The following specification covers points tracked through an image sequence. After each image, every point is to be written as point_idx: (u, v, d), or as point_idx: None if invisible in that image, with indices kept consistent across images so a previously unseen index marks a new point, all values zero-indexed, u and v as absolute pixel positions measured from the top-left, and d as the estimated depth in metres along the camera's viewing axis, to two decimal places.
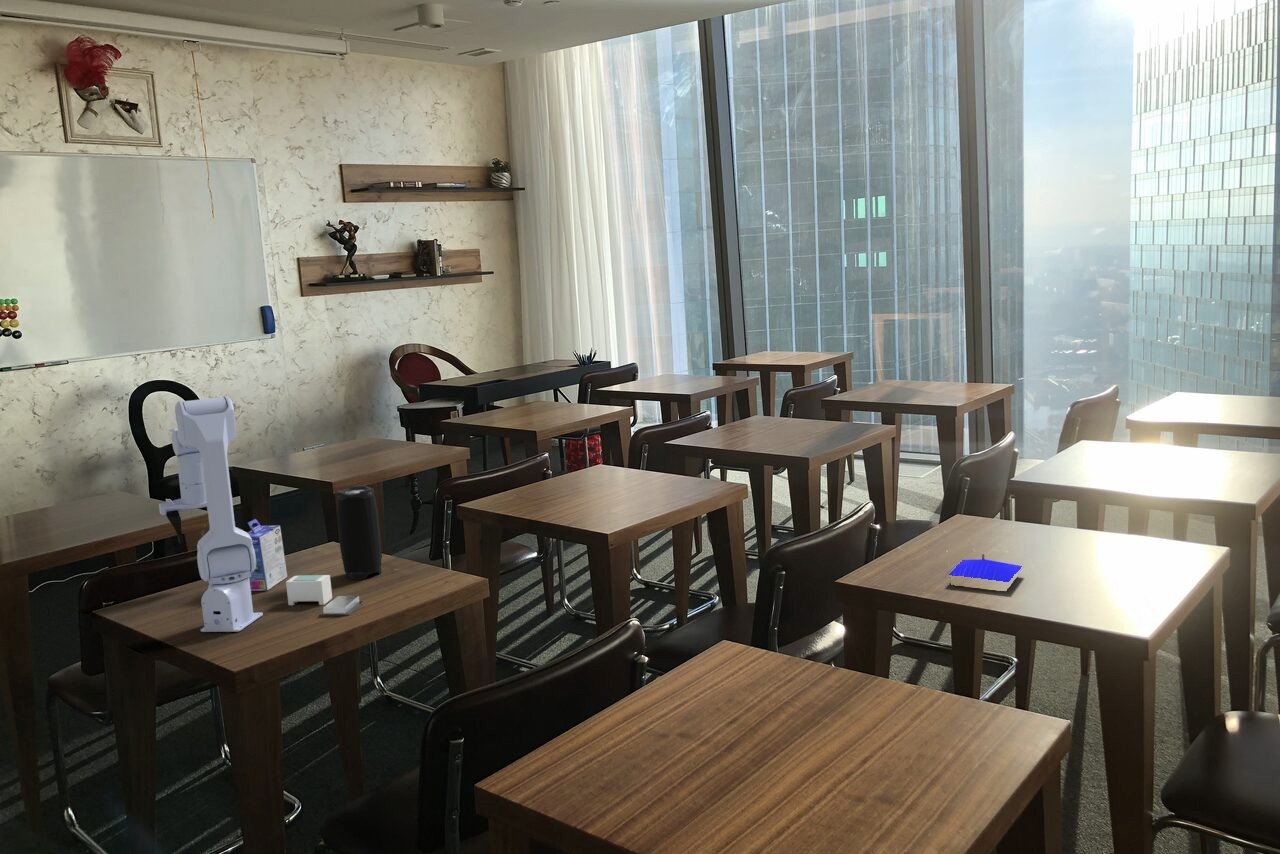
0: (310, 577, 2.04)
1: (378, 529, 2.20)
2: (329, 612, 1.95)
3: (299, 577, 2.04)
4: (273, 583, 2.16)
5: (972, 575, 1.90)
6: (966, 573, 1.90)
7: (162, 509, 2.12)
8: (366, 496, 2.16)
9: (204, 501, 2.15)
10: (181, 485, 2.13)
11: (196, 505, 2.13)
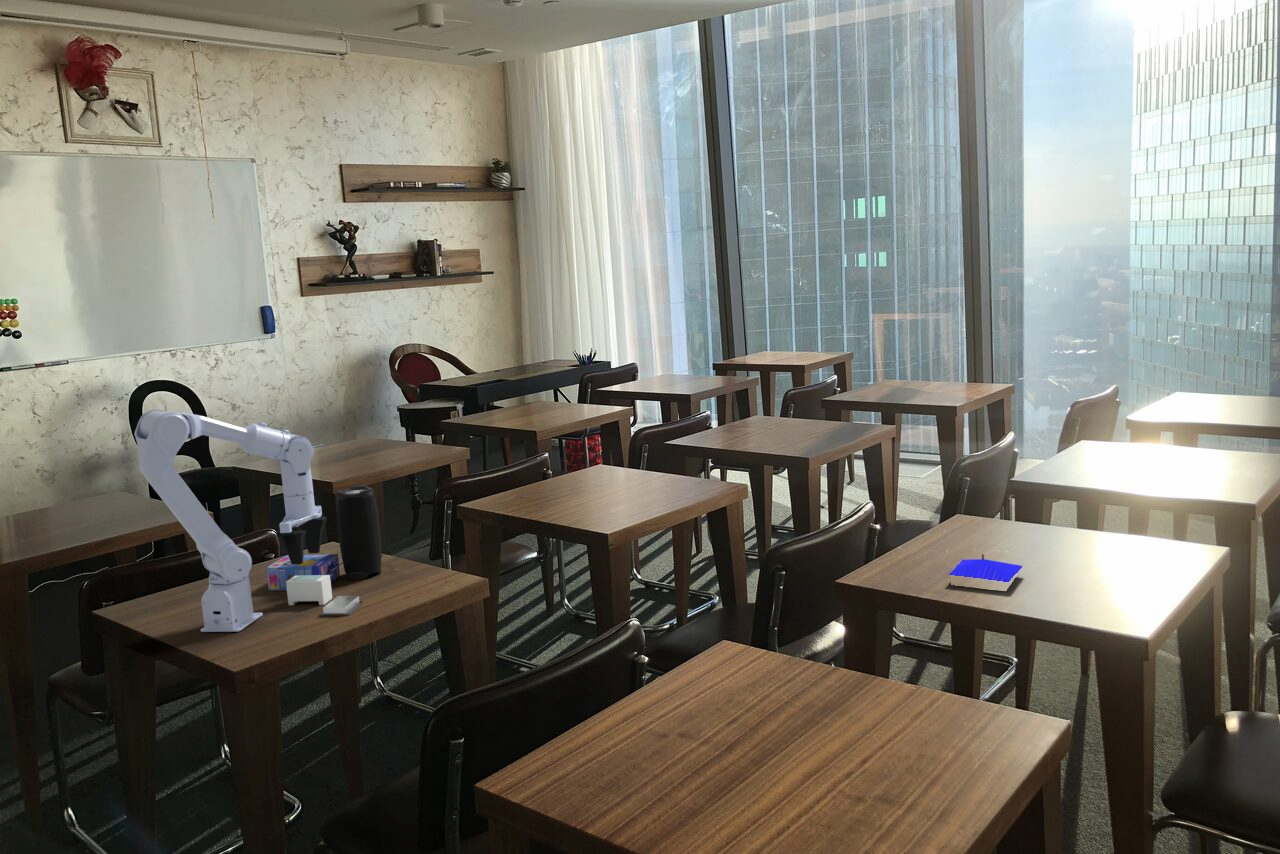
0: (310, 577, 2.04)
1: (378, 529, 2.20)
2: (329, 612, 1.95)
3: (299, 577, 2.04)
4: None
5: (972, 575, 1.90)
6: (966, 573, 1.91)
7: None
8: (366, 496, 2.16)
9: None
10: None
11: None
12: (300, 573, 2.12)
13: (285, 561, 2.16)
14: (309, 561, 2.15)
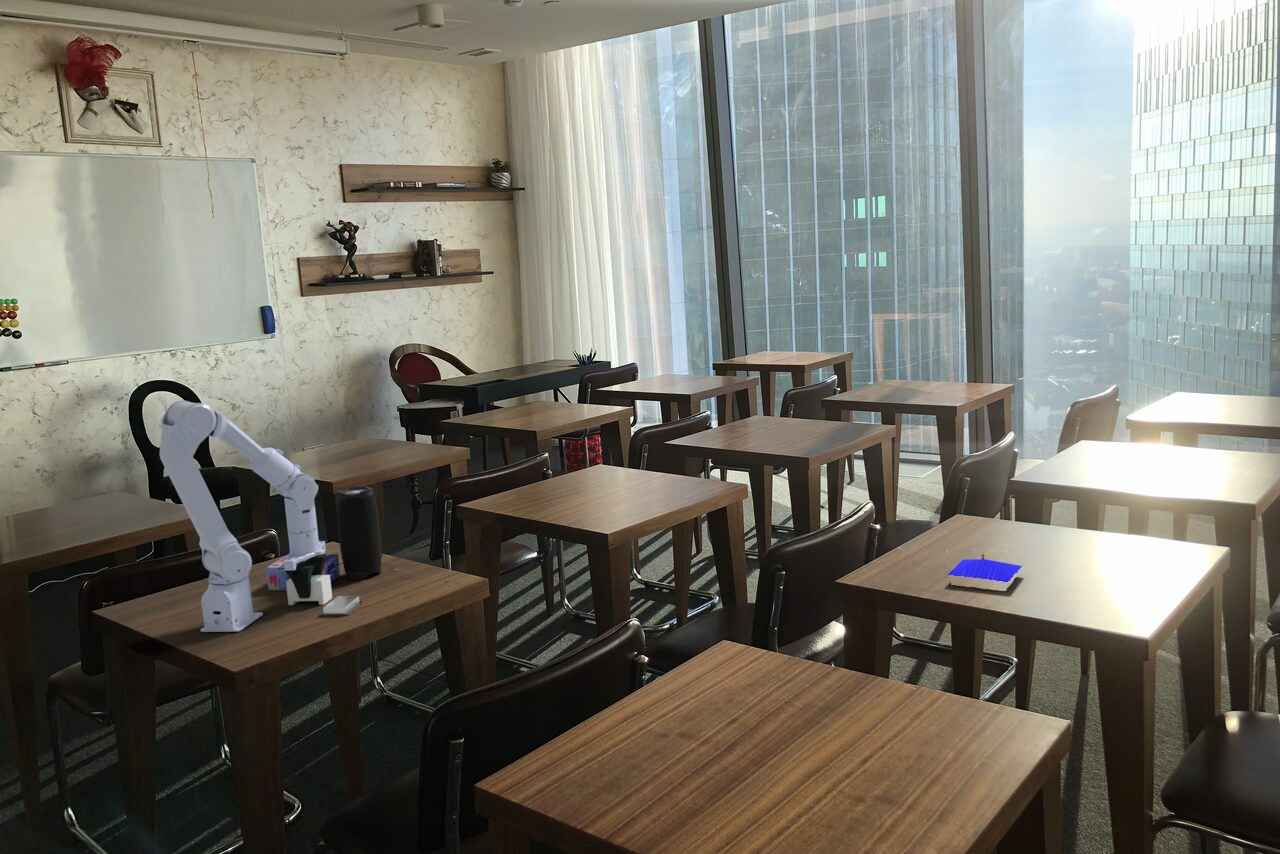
0: None
1: (378, 529, 2.20)
2: (329, 612, 1.95)
3: None
4: None
5: (972, 575, 1.90)
6: (966, 573, 1.91)
7: None
8: (366, 496, 2.16)
9: (290, 551, 2.02)
10: None
11: None
12: None
13: None
14: None
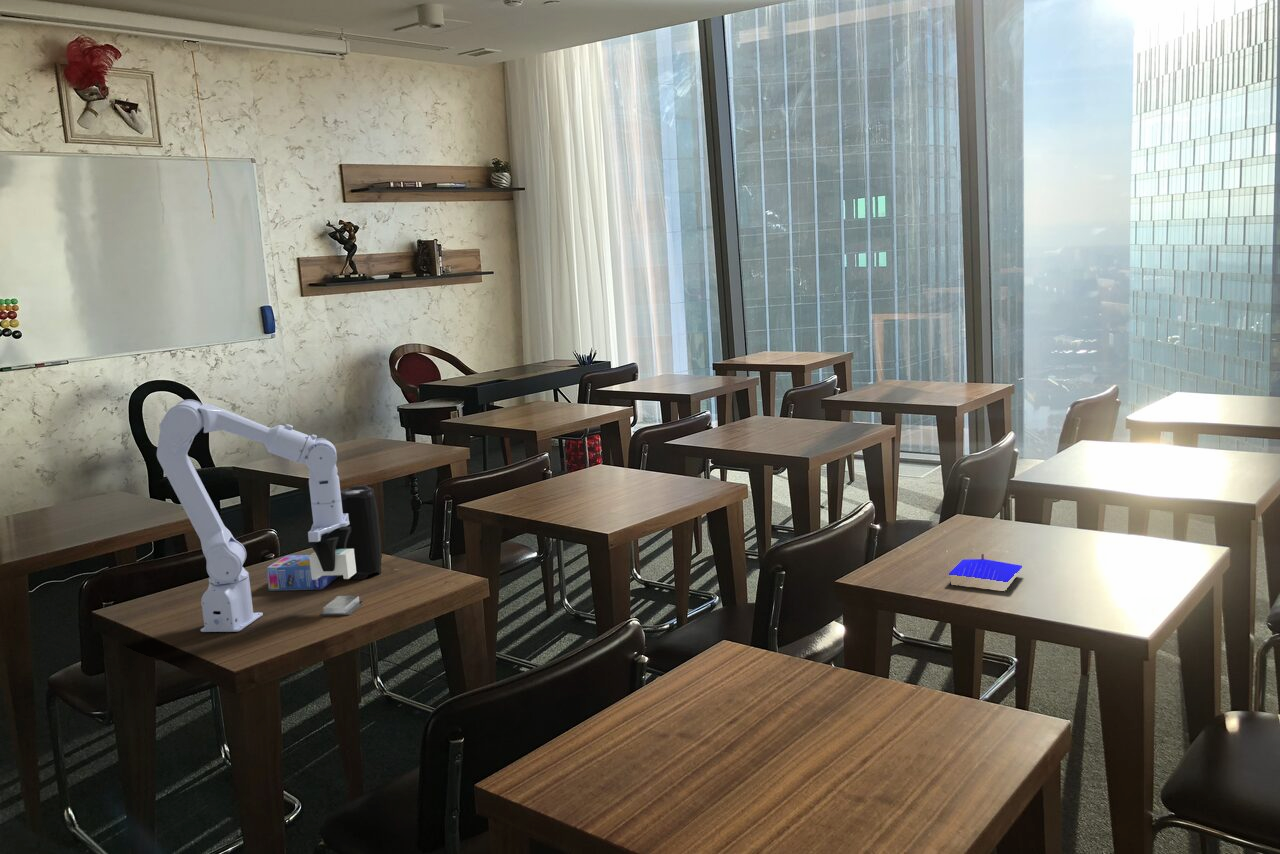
0: None
1: (378, 529, 2.20)
2: (329, 612, 1.95)
3: None
4: None
5: (971, 575, 1.90)
6: (965, 573, 1.91)
7: None
8: (366, 496, 2.16)
9: None
10: None
11: None
12: (300, 573, 2.12)
13: (285, 561, 2.16)
14: (309, 561, 2.15)
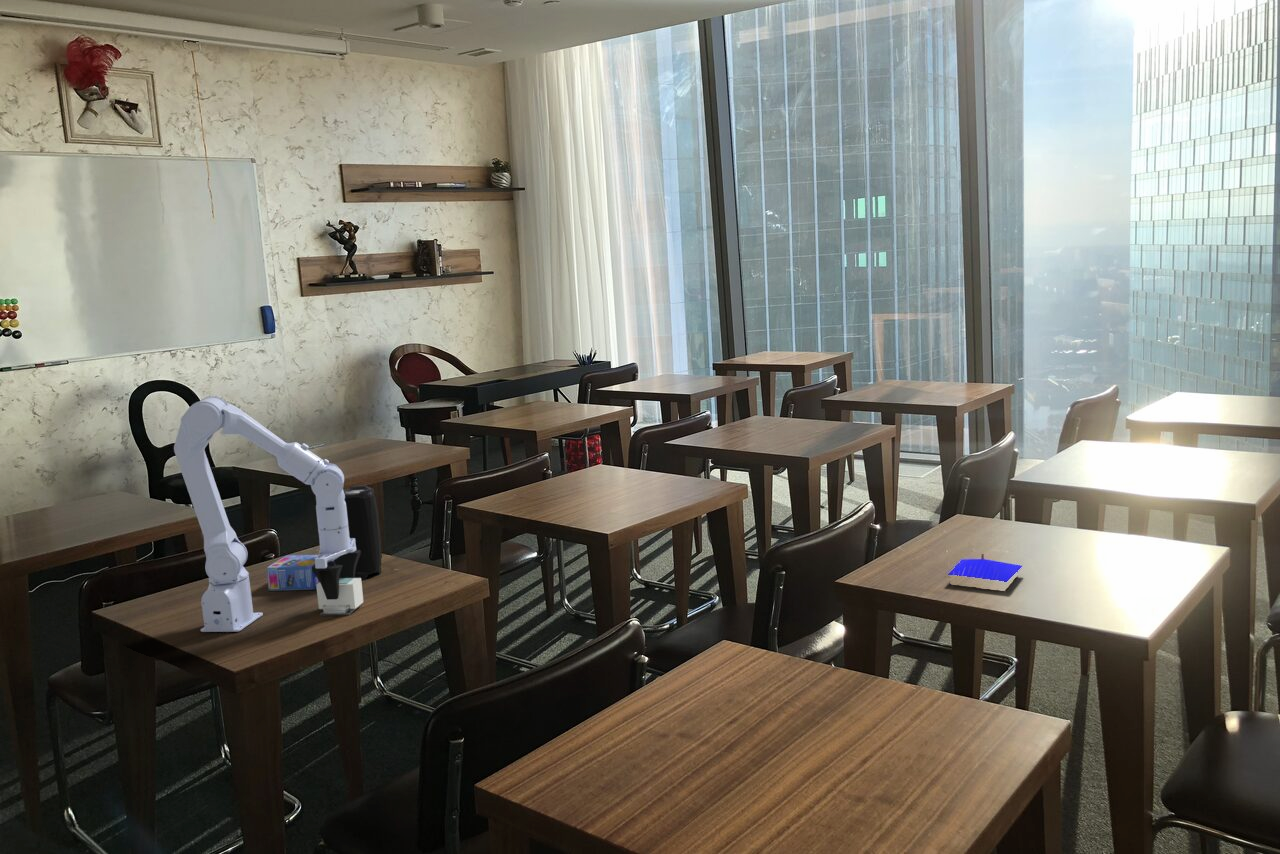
0: (341, 580, 1.97)
1: (378, 529, 2.20)
2: (329, 612, 1.95)
3: None
4: None
5: (971, 575, 1.90)
6: (965, 573, 1.91)
7: None
8: (366, 496, 2.16)
9: (320, 549, 1.95)
10: None
11: None
12: (300, 573, 2.12)
13: (285, 561, 2.16)
14: (309, 561, 2.15)
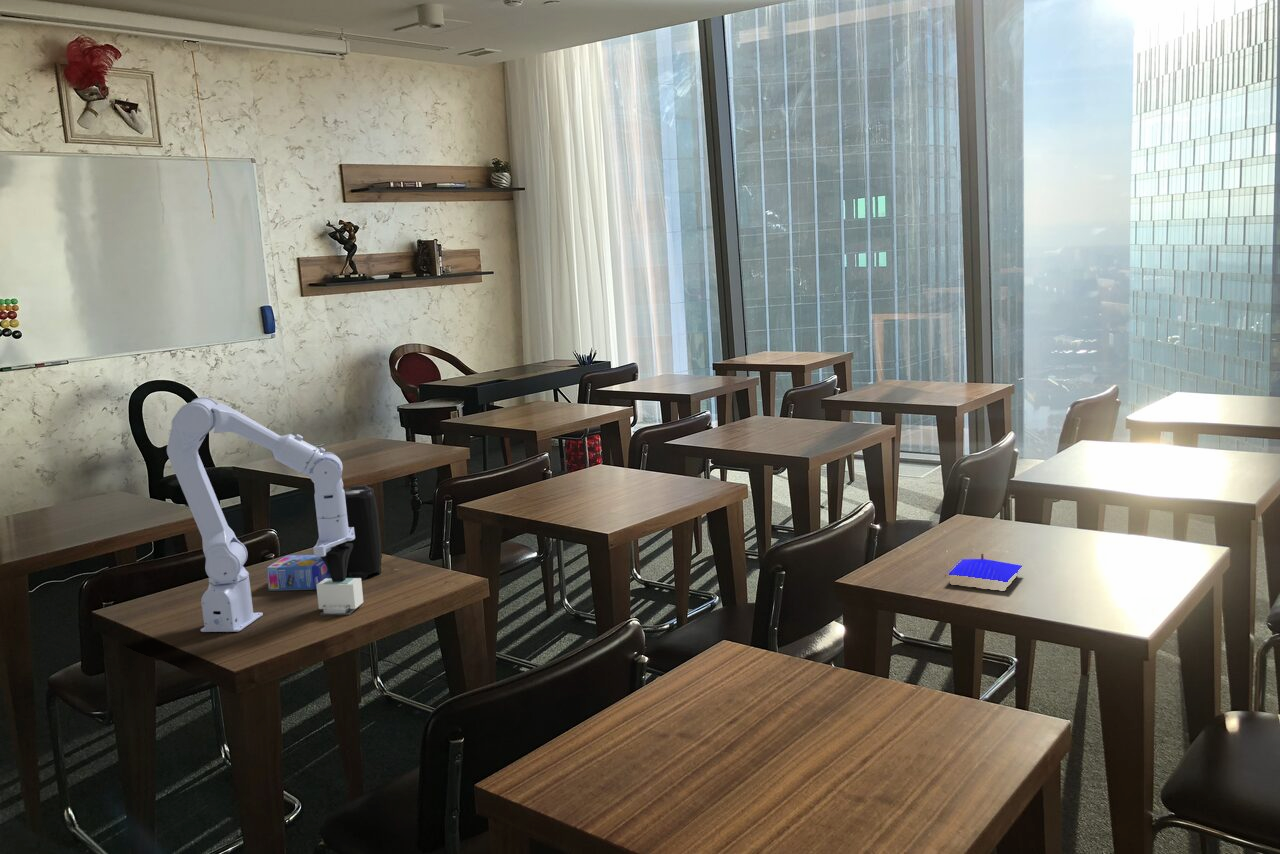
0: None
1: (378, 529, 2.20)
2: (329, 612, 1.95)
3: (329, 580, 1.98)
4: None
5: (971, 575, 1.90)
6: (965, 573, 1.91)
7: None
8: (366, 496, 2.16)
9: (319, 537, 1.95)
10: None
11: None
12: (300, 573, 2.12)
13: (285, 561, 2.16)
14: (309, 561, 2.15)
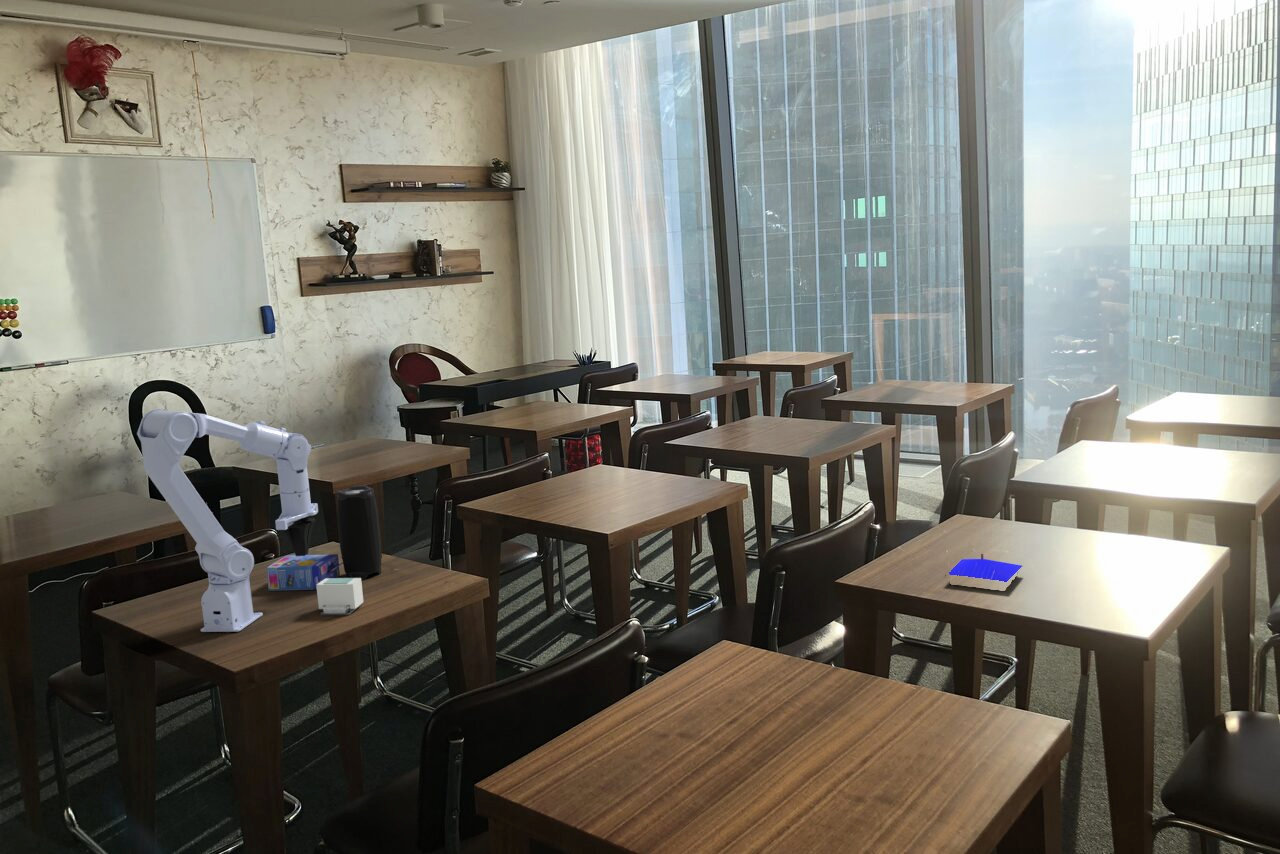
0: (341, 580, 1.97)
1: (378, 529, 2.20)
2: (329, 612, 1.95)
3: (329, 580, 1.98)
4: None
5: (971, 575, 1.90)
6: (965, 573, 1.91)
7: None
8: (366, 496, 2.16)
9: (282, 512, 2.02)
10: None
11: None
12: (300, 573, 2.12)
13: (285, 561, 2.16)
14: (309, 561, 2.15)
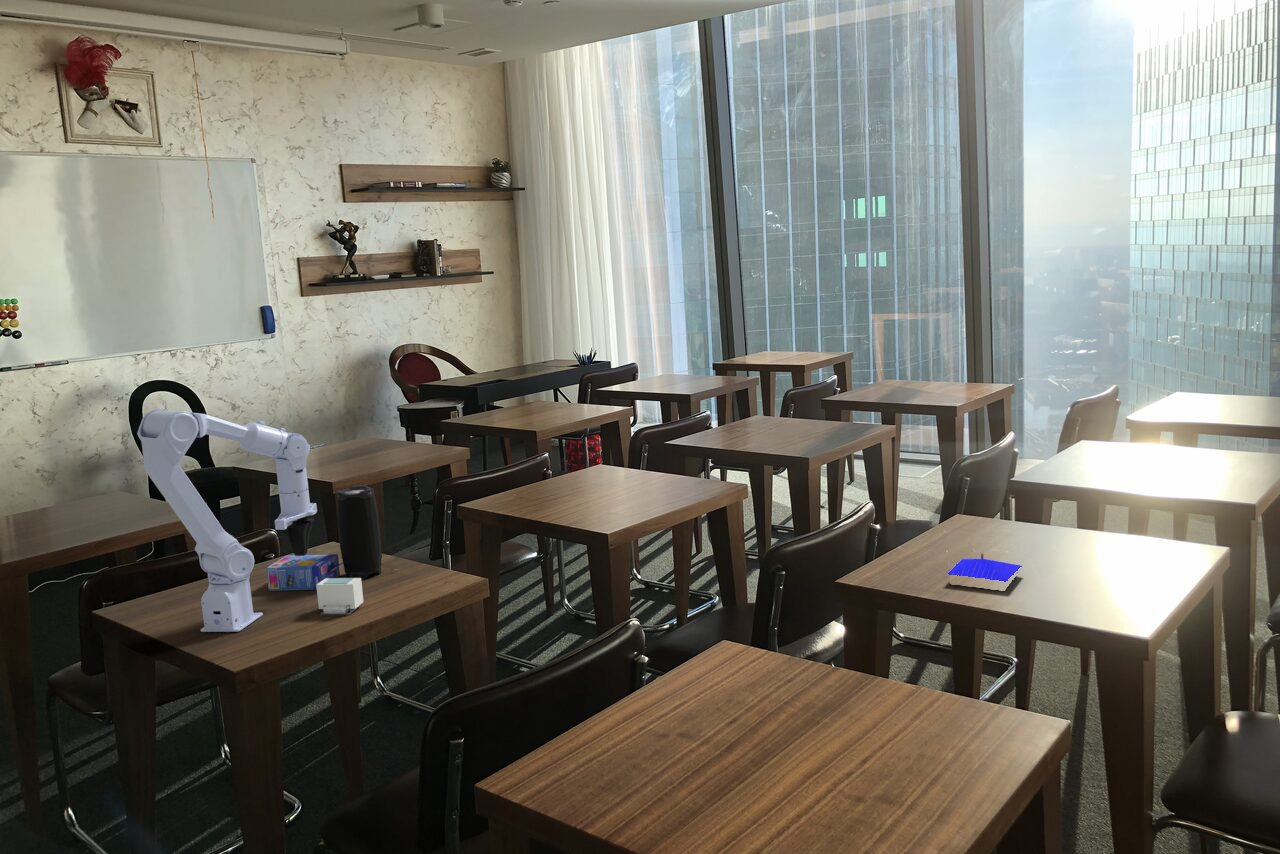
0: (341, 580, 1.97)
1: (378, 529, 2.20)
2: (329, 612, 1.95)
3: (329, 580, 1.98)
4: None
5: (971, 574, 1.90)
6: (965, 572, 1.91)
7: None
8: (366, 496, 2.16)
9: (281, 512, 2.03)
10: None
11: None
12: (300, 573, 2.12)
13: (285, 561, 2.16)
14: (309, 561, 2.15)
